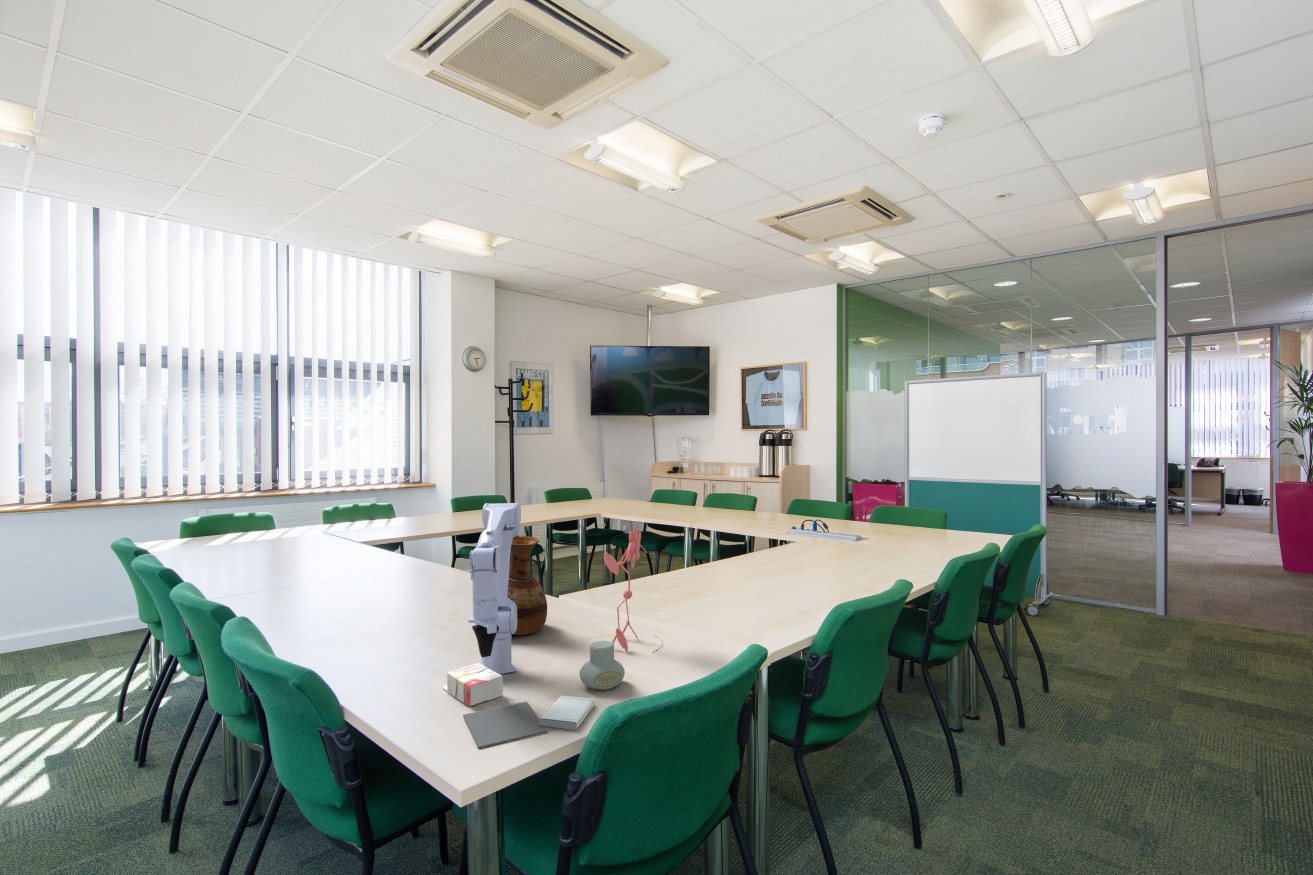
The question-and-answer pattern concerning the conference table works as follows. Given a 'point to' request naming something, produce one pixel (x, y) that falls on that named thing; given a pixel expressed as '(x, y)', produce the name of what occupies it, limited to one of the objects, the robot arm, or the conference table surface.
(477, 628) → the robot arm
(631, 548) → the pink thin stick figure
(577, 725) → the hard drive
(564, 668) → the conference table surface
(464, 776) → the conference table surface
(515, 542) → the ceramic pitcher
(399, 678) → the conference table surface
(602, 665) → the air freshener
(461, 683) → the ink cartridge box
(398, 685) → the conference table surface
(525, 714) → the mat
